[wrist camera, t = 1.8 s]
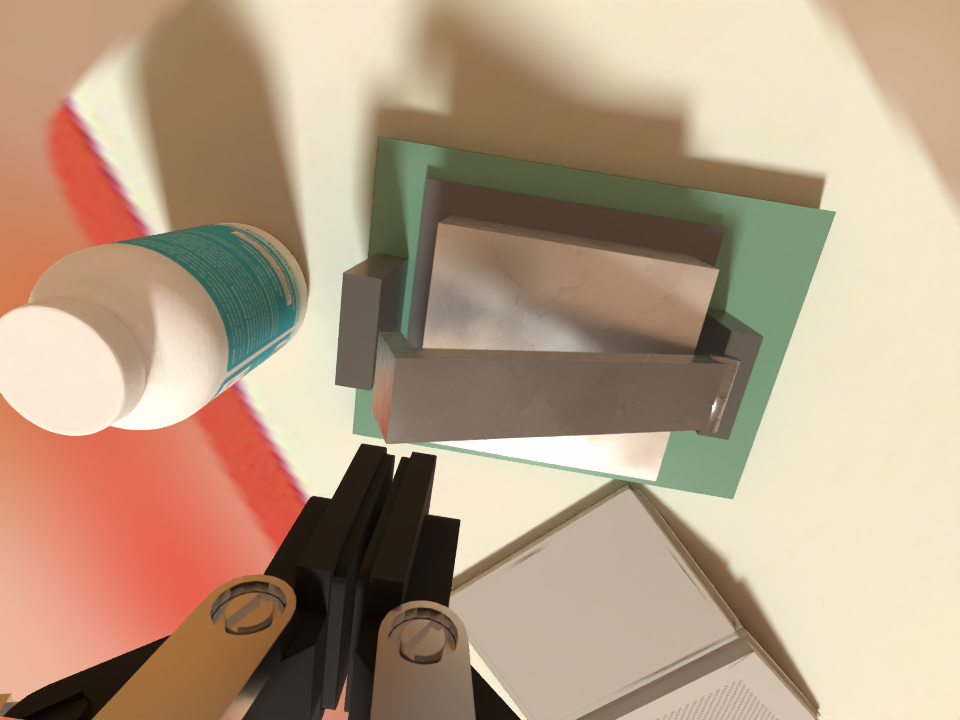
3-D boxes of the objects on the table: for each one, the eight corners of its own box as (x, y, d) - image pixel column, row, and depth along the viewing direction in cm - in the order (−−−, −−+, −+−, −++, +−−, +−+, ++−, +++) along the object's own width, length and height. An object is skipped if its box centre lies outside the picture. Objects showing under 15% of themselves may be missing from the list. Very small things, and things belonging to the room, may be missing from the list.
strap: (700, 340, 25) (746, 362, 22) (681, 405, 26) (723, 432, 24) (379, 328, 19) (397, 356, 17) (371, 411, 20) (386, 448, 18)
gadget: (439, 589, 37) (431, 632, 34) (629, 472, 34) (642, 507, 30) (632, 788, 42) (642, 845, 39) (816, 706, 38) (846, 760, 35)
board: (819, 209, 27) (922, 222, 20) (723, 485, 33) (779, 569, 26) (385, 138, 28) (340, 126, 21) (359, 422, 33) (316, 489, 26)
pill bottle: (200, 197, 29) (-46, 216, 17) (330, 255, 30) (189, 317, 17) (169, 321, 32) (-67, 420, 19) (289, 372, 32) (139, 503, 19)
